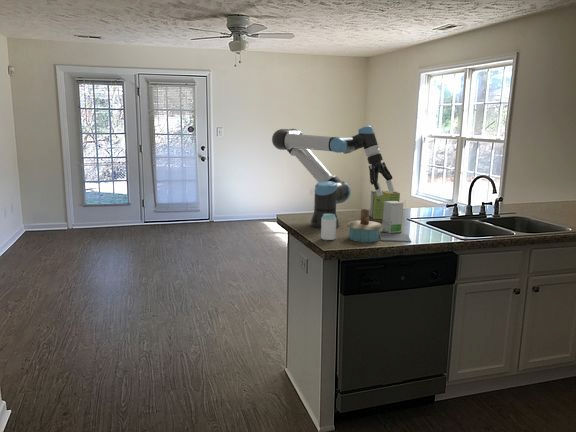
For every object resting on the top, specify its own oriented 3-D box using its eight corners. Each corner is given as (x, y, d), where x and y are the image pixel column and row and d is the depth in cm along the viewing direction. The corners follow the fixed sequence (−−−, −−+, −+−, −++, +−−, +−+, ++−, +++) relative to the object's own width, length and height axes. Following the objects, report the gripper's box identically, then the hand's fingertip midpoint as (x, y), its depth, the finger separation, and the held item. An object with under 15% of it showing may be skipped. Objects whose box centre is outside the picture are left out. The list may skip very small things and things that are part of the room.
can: (334, 237, 230) (335, 213, 228) (336, 241, 223) (337, 216, 221) (320, 237, 230) (321, 212, 228) (321, 240, 223) (322, 215, 221)
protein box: (398, 219, 279) (400, 193, 276) (372, 218, 279) (373, 192, 276) (395, 216, 289) (396, 190, 286) (369, 215, 289) (371, 190, 286)
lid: (347, 229, 222) (348, 211, 220) (347, 222, 237) (348, 206, 236) (382, 230, 220) (383, 213, 218) (380, 223, 236) (381, 207, 234)
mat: (381, 240, 226) (381, 239, 226) (379, 234, 240) (379, 233, 240) (411, 242, 224) (411, 241, 224) (407, 235, 238) (407, 234, 238)
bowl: (349, 241, 224) (349, 228, 223) (349, 234, 237) (349, 222, 236) (379, 242, 222) (380, 230, 221) (377, 235, 236) (378, 224, 235)
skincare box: (389, 233, 242) (391, 203, 239) (381, 230, 248) (383, 201, 245) (402, 232, 246) (404, 202, 243) (393, 229, 251) (395, 200, 249)
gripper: (368, 154, 237) (381, 195, 237) (390, 151, 257) (402, 188, 256) (355, 159, 242) (368, 199, 242) (378, 155, 261) (390, 192, 261)
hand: (386, 193), depth 249 cm, fingers open, 13 cm apart
